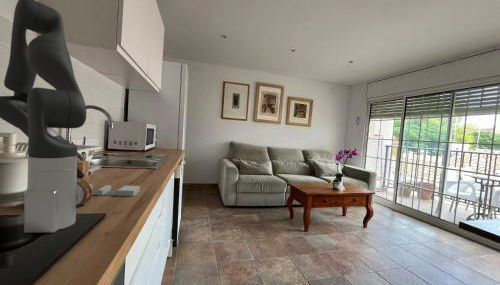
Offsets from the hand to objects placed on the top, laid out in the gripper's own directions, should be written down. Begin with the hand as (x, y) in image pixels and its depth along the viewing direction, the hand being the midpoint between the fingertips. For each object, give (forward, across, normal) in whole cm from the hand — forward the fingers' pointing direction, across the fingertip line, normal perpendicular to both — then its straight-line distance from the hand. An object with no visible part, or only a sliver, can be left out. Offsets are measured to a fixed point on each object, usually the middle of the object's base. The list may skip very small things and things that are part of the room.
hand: (85, 176), depth 86 cm
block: (0, 0, +3) cm, 3 cm away
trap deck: (+9, 0, 0) cm, 9 cm away
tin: (+5, -14, +4) cm, 15 cm away
